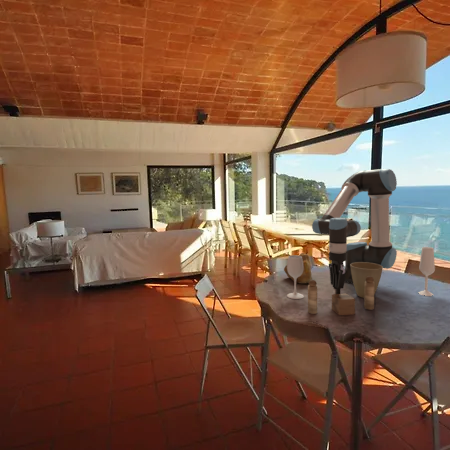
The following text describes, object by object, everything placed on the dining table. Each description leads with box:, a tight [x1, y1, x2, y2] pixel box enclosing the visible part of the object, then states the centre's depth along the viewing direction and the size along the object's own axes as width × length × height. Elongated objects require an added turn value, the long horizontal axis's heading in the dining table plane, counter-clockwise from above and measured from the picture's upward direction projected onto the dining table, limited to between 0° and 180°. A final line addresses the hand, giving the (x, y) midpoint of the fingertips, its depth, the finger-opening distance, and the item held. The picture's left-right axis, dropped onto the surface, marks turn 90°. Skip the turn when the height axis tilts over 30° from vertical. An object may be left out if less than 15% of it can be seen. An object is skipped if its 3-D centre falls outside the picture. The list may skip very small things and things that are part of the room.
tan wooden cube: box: [331, 293, 356, 316], centre depth 133 cm, size 7×7×7 cm
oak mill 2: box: [363, 276, 375, 311], centre depth 136 cm, size 4×4×15 cm
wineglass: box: [286, 255, 305, 300], centre depth 154 cm, size 9×9×21 cm
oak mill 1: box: [307, 279, 318, 315], centre depth 133 cm, size 4×4×15 cm
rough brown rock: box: [283, 253, 313, 284], centre depth 184 cm, size 23×17×15 cm
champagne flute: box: [417, 246, 436, 297], centre depth 152 cm, size 7×7×24 cm
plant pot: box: [350, 262, 384, 299], centre depth 152 cm, size 15×15×16 cm
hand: (336, 301), depth 139 cm, fingers closed
